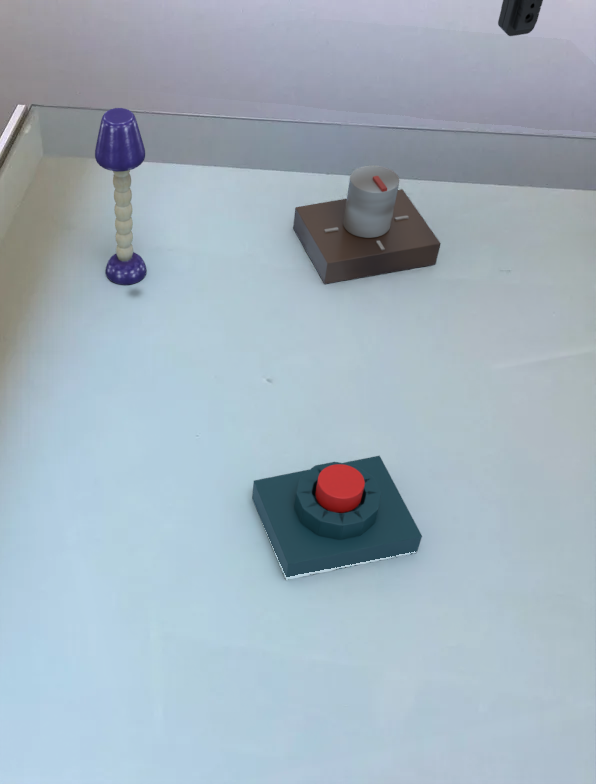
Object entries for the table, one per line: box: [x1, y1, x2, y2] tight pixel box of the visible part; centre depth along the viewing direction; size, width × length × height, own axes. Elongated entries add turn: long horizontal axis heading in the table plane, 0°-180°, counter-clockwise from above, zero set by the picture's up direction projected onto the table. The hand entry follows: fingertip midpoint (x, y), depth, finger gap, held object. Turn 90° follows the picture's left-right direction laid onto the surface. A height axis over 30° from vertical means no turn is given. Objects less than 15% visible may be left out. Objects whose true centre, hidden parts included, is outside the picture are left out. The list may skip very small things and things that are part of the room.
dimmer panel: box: [292, 188, 442, 285], centre depth 99 cm, size 12×10×3 cm
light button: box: [315, 464, 365, 513], centre depth 75 cm, size 4×4×2 cm
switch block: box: [251, 455, 423, 577], centre depth 77 cm, size 11×9×4 cm
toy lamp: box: [94, 107, 147, 286], centre depth 92 cm, size 5×5×17 cm
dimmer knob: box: [343, 164, 400, 238], centre depth 96 cm, size 5×5×5 cm
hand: (514, 29), depth 71 cm, fingers closed
